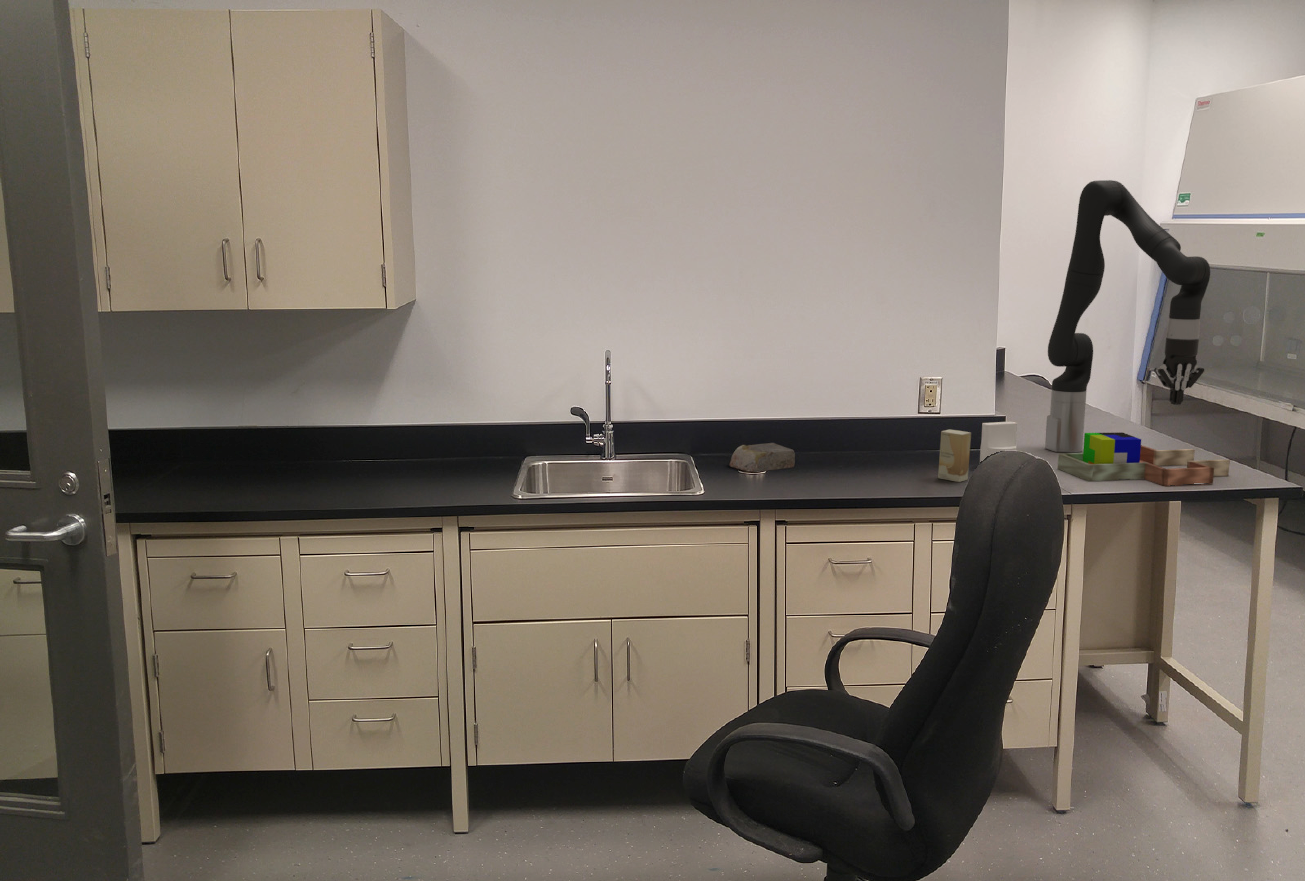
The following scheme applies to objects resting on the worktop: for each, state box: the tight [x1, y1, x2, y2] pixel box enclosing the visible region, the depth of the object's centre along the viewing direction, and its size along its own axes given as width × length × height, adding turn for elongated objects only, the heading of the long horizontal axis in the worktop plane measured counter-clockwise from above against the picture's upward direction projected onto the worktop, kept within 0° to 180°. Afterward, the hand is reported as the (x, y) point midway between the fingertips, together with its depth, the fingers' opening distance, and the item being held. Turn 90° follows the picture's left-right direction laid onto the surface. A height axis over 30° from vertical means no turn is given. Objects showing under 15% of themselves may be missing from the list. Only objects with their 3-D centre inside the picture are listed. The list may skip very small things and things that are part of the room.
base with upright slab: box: [979, 421, 1018, 463], centre depth 281 cm, size 9×9×12 cm
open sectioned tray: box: [1057, 444, 1231, 487], centre depth 276 cm, size 38×31×4 cm
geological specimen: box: [728, 442, 796, 473], centre depth 286 cm, size 11×6×15 cm
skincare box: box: [937, 429, 972, 483], centre depth 268 cm, size 6×4×12 cm
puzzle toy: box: [1082, 431, 1142, 464], centre depth 273 cm, size 10×10×10 cm
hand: (1175, 404), depth 274 cm, fingers closed
